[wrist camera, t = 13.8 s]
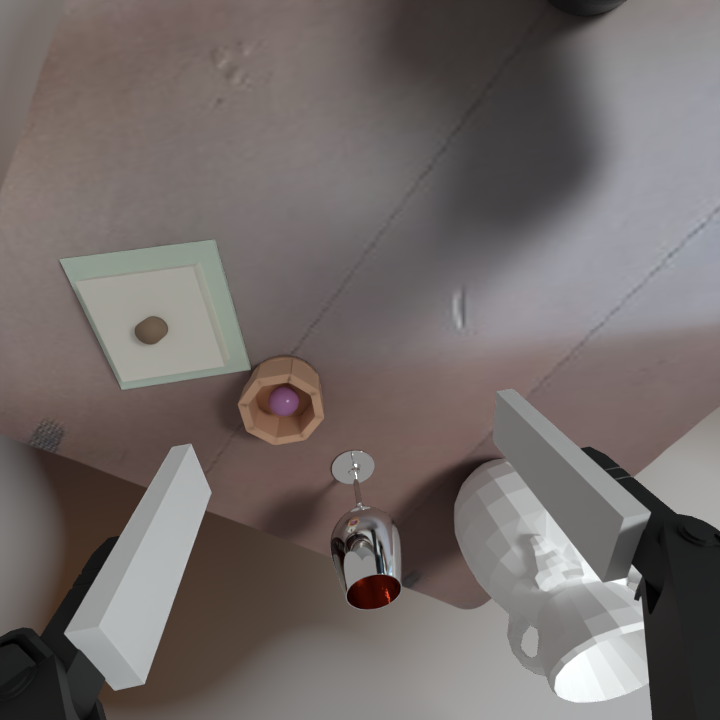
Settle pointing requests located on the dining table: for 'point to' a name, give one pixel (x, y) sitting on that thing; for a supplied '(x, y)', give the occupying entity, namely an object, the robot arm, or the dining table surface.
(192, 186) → the dining table surface
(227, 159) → the dining table surface
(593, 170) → the dining table surface
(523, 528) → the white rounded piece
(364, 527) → the wineglass
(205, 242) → the mat
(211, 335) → the lid
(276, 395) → the pot
